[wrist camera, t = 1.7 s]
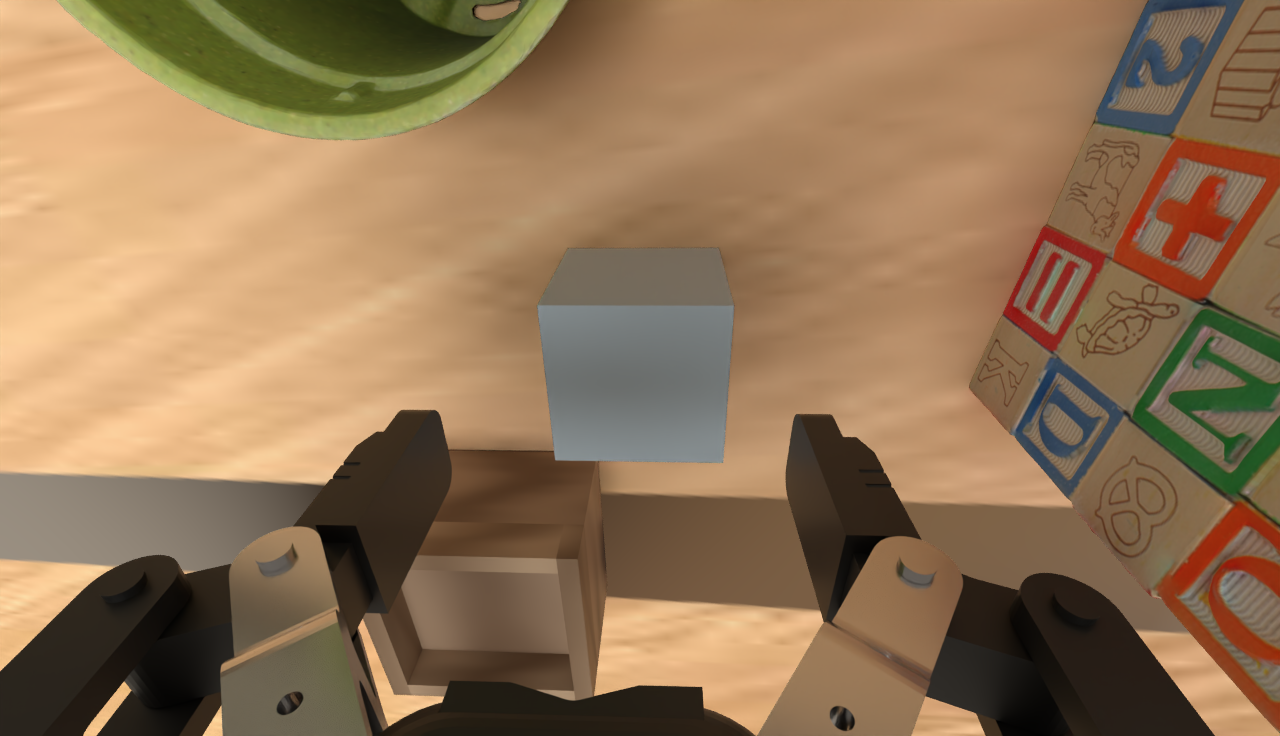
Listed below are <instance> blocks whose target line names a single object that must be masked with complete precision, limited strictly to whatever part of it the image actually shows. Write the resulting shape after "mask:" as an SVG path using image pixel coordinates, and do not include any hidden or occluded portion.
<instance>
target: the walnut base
mask: <svg viewBox="0 0 1280 736" xmlns="http://www.w3.org/2000/svg"><path fill="white" fill-rule="evenodd" d="M448 451H449V456H450V460H451V465H452V478H451V484H450V488H449V491H448V493H447V495H446V497H445V499H444V501H443V503H442V505H441V507H440V509H439V511H438V513H437V515H436V517H435V519H434V521H433V523H432V525H431V527H430V530H429V532H428V534H427V536H426V538H425V540H424V542H423V544H422V546H421V548H420V550H419V552H418V554H417V556H416V558H415V560H414V562H413V564H412V566H411V568H410V570H409V572H408V574H407V576H406V578H405V580H404V582H403V585H402V587H401V589H400V591H399V593H398V595H397V597H396V599H395V601H394V603H393V605H392V607H391V609H390V611H389V613H388V614H381V613H365V615H364V617H363V620H364V622H365V625H366V627H367V629H368V632H369V634H370V637H371V639H372V642H373V644H374V646H375V649H376V651H377V654H378V656H379V658H380V661H381V663H382V666H383V668H384V671H385V673H386V675H387V678H388V680H389V683H390V685H391V687H392V690H393V692H394V695H419V696H445V693H446V690H447V687H448V685H449V682H450V681H486V682H512V683H515V684H519V685H522V686H525V687H528V688H531V689H535V690H538V691H541V692H544V693H547V694H550V695H554V696H557V697H560V698H563V699H567V700H581V699H585V698H589V697H593V696H594V691H595V683H596V675H597V666H598V658H599V650H600V642H601V633H602V625H603V617H604V608H605V600H606V592H607V575H606V561H605V548H604V534H603V520H602V506H601V493H600V479H599V466H598V461H567V460H555V453H554V452H537V451H466V450H448Z"/></svg>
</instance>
